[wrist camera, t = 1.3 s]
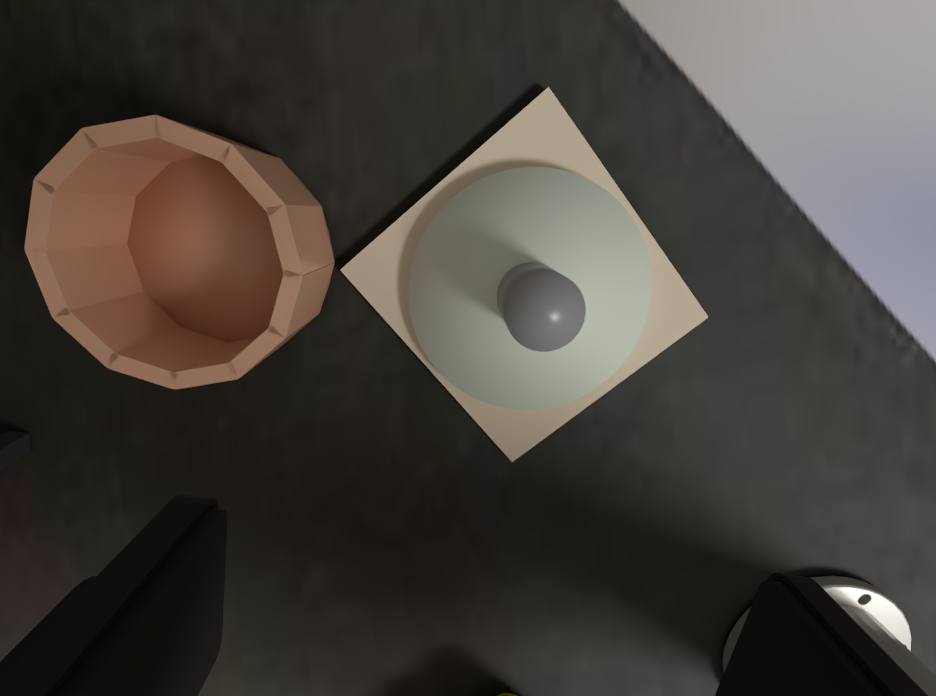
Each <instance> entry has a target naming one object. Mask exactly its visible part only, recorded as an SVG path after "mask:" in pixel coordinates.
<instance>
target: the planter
mask: <svg viewBox="0 0 936 696" xmlns="http://www.w3.org/2000/svg"><path fill="white" fill-rule="evenodd" d="M29 453H31V444H30V434H29V433H25V432H17V431H8V432H5V433H3V434H0V471H1V470H3V469H5V468H6V467H8V466H10V465H11V464H13V463H15V462H16V461H18V460H19V459H21V458H23V457H24V456H26V455H28V454H29Z"/></svg>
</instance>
